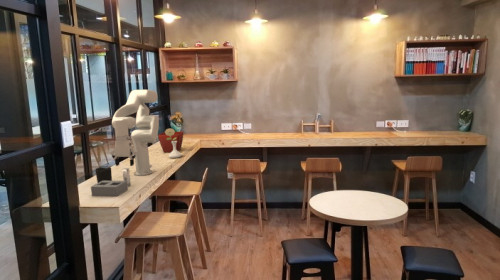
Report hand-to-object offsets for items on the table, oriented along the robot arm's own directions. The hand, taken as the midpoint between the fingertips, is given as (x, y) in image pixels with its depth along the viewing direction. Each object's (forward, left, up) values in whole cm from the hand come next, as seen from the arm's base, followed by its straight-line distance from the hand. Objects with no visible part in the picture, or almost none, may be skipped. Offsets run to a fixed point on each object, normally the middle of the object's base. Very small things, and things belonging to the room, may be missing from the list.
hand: (124, 165), depth 212 cm
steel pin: (-1, 0, -13) cm, 13 cm away
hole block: (+12, -4, -13) cm, 19 cm away
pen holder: (-5, -18, -14) cm, 23 cm away
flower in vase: (-78, +1, -14) cm, 79 cm away
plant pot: (-102, -11, -14) cm, 104 cm away
